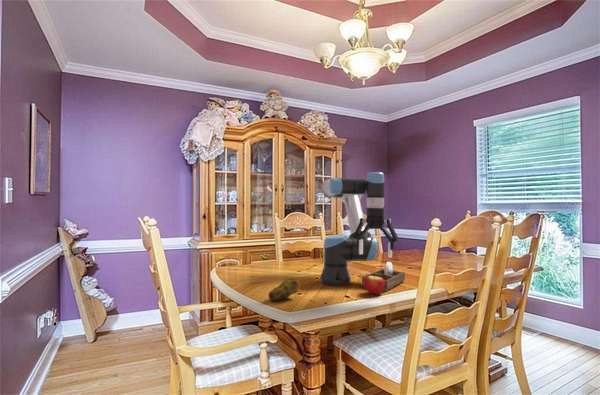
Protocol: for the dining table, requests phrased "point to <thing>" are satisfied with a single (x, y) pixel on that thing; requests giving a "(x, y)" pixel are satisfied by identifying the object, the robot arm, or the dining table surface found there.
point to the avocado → (284, 290)
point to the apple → (374, 284)
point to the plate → (388, 269)
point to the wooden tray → (387, 278)
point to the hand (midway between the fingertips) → (375, 255)
